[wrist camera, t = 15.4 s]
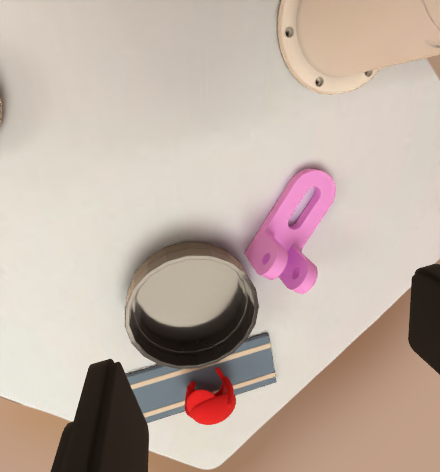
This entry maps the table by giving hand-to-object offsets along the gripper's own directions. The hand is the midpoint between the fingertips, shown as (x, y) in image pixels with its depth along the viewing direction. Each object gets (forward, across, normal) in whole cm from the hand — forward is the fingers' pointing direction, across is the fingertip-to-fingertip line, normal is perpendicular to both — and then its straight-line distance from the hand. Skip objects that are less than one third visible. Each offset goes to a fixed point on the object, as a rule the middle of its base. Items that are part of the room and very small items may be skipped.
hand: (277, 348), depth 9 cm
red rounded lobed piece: (+25, +4, +27) cm, 37 cm away
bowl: (+26, +4, +14) cm, 30 cm away
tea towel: (+26, +5, +27) cm, 38 cm away
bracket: (+26, -11, +7) cm, 29 cm away
